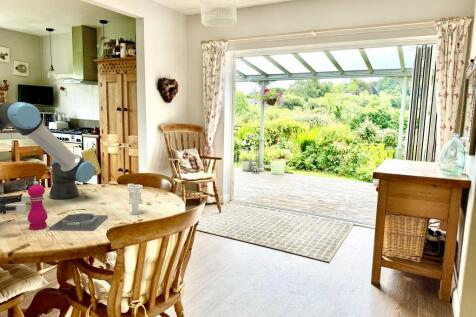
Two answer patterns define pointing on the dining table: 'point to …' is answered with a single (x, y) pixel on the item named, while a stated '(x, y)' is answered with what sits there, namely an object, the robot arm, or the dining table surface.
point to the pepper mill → (37, 207)
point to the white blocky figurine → (135, 197)
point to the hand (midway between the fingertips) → (32, 202)
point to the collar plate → (79, 222)
